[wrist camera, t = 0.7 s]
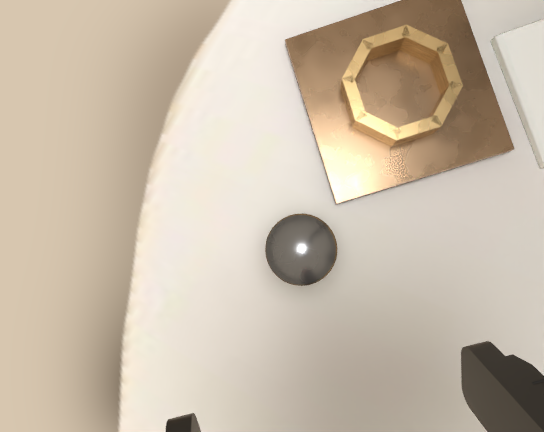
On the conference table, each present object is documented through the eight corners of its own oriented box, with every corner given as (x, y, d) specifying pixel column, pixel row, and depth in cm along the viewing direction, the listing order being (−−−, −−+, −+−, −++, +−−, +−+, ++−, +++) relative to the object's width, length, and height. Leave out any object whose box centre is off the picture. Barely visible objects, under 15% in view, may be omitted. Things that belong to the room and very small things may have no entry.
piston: (322, 213, 39) (325, 203, 29) (339, 267, 39) (347, 275, 29) (269, 229, 40) (254, 224, 30) (285, 283, 39) (275, 296, 29)
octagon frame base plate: (451, -12, 39) (464, -36, 36) (509, 151, 38) (529, 142, 34) (285, 44, 41) (283, 26, 37) (336, 204, 39) (338, 200, 36)
